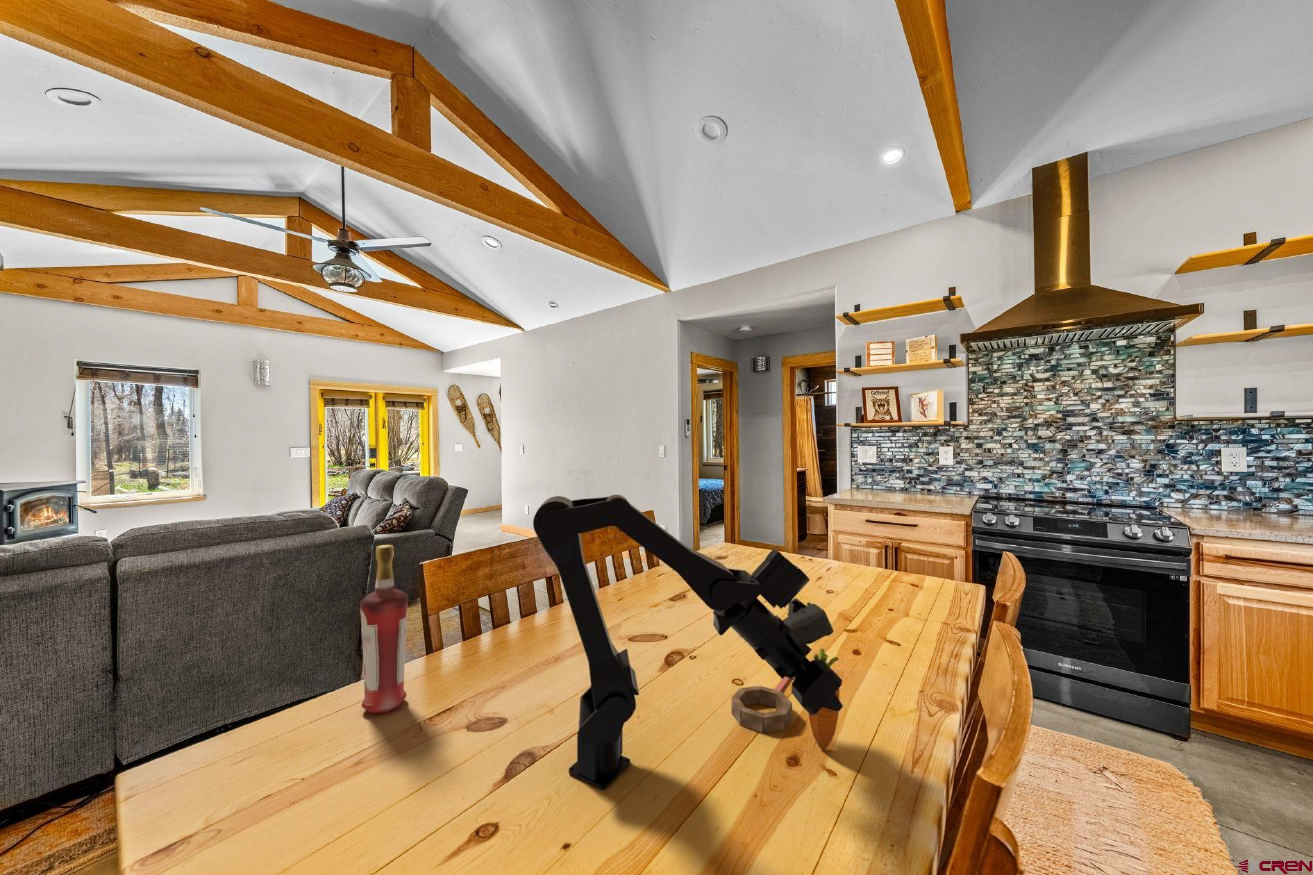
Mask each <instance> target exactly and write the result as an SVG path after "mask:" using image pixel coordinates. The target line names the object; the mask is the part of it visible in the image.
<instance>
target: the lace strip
mask: <svg viewBox="0 0 1313 875" xmlns="http://www.w3.org/2000/svg"><path fill="white" fill-rule="evenodd" d="M790 680H791V679H790V678H788V677H784V678H783V679H782V678H781V680H780V682H779V683H778V684H777V686H776V687H775V688H774V690H778V691H780V692H783V689H784V688H785V687H786V685H787V684H788V682H789V681H790Z"/></svg>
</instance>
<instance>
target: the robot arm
mask: <svg viewBox="0 0 1313 875" xmlns="http://www.w3.org/2000/svg"><path fill="white" fill-rule="evenodd" d="M532 525H533V531H534V532H535V534H536V536H537V538H538V540H539V542H540V544H541V546H542V547H543V549H544V551H545V553H546V554H547V556H548V557H549V558H550V560H551V561H552V563H554V565H555V567H556V568H557V571H558V574H559V576H560V579H561V580H560V581H561V582H562V586H563V588H564V592H565V594H566V598H567V600H568V604H569V607H570V610H571V612H572V616H573V619H574V622H575V625H576V628H577V631H578V634H579V638H580V640H581V641H580V642H581V643H582V647H583V650H584V652H585V656H586V659H587V661H588V670H589V678H590V679H589V680H590V686H589V687H588V688H587V689H586V691H584V693H583V694H581V696H579V697H580V698H579V712H578V713H579V715H578V716H579V718H578V731H577V732H576V733H577V734H576V736H577V737H576V740H577V741H576V742H577V743H576V745H577V746H576V748H577V749H576V751H577V752H576V753H577V754H576V762H575V763H573V764H572V765H570V766H569V768H568V774H569V775H571V776H573V777H576V778H577V779H579V780H581V781H583V782H586V783H588V784H590V785H592V786H595V787H596V788H599V789H601V790H605V789H607V788H608V787H609V786H611V784H612V783H613V782H614V781H615V780H616V779H617V778H618V777H619V776H620V775H621V774H622V773H623V772H624V771H625V770H626V769H627V768H628V767H629V766H630V765H631V759H630V758H628V757H626V756H624V755H623V727H624V725H625V723H626V722H628V721H629V720H630V719H631V717H632V716H633V714H634V713H635V711H636V709H637V702H636V696H639V695H640V693H639V685H638V681H637V675H636V671H635V670H634V669H633V667H632V666H631V663H630V658H629V653H628V652H629V651H628V649H627V648H624V650H621V651H620V652H619V651H618V650H617V648H616V647H615V645H614V644H613V642H612V638H611V636H610V633H609V630H608V627H607V624H606V621H605V617H604V613H603V611H602V608H601V605H600V602H599V600H598V596H597V594H596V589H595V586H594V584H593V581H592V578H591V576H590V572H589V568H588V565H587V563H586V559H585V557H584V553H583V544H582V534H585V533H589V532H592V531H593V532H594V531H596V530H599V529H604V528H609V527H615V528H617V529H618V530H620V531H621V532H622V533H624V534H625V535H626V536H628V537H629V538H630V539H632V540H633V541H635V543H638V544H639V545H640V546H641V547H643V549H645V550H647V551H648V552H649V553H650V554H652V556H654V557H656V558H657V559H658V560H660V561H661V562H662V563H664V564H665V565H666V566H668V568H670V569H671V570H673V571H675V572H676V573H677V574H678V575H679V576H680V577H681V578H682V580H683V581H684V582H685V583H686V584H687V585H688V587H690V589H691V590H692V591H693V592H694V593H695V594H696V595H697V596H698V598H699V599H700V600H702V602H703V603H704V604H705V605H706V606H707V607H708V608H709V609H711V610H713V612H712V614H713V623H712V626H713V627H714V629H715V631H716V632H717V633H718V635H719V636H723V635H724V634H726V632H727V631H728V630H729V629H730V628H732V629H733V631H734V632H736V633H737V635H739V637H741V638H742V640H744V641H745V643H747V644H748V645H749V646H750V647H751V648H752V650H753V651H754V652H755V653H756V655H758V657H759V658H760V659H761V661H765V662H766V663H767V664H768V665H769V666H770V667H771V668H772V670H774V672H775V673H776V674H777V675H778V676H779V677H780V678H781V680H782V679H783V678H784V677H788V678H790V680H792V681H793V682H791V694H792V695H793V697H794V698H795V699H796V700H797V702H798V703H799V705H800V706H801V707H802V708H803V709H804V710H806V712H807V713H808V715H809V714H810V715H815V714H817V712H818V711H819V710H820V709H821V708H822V707H824V708H827V709H831V710H834V711H839V712H840V711H841V710H842V709H843V707H844V706H843V703H842V702H841V700H840V698H839V699H838V697H837V695H836V694H835V692H836V691H837V690H838V689H840V687H842V684H843V679H842V678H841V677H840V676H839V675H838V674H837V673H836V672H835V671H834V670H833V669H832V668H831V666H830V667H829V666H828V665H827V664H826V663H825V662H824V661H822V660H820V659H819V660H814V659H812V660H811V661H810V660H809V658H808V657H807V656H808V655H809V654H810V652H811V651H812V650H813V649H812V648H811V647H810V646H809V645H810V644H811V645H812V644H813V643H816V642H817V641H819V640H821V639H822V638H824V637H826V636H827V637H829V636H831V635H832V634H833V633H834V628H833V625H832V623H831V622H830V619H829V618H828V615H827V612H826V611H825V610H824V609H823V608H822V607H820V606H819V605H817V604H816V603H811V602H810V601H809V602H806V604H805V603H804V602H802V601H801V600H800V599H798V598H797V597H796V596H797V595H798V594H799V593H800V592H801V591H802V590H803V588H805V586H806V585H807V584H808V583H809V582H810V581H811V580H810V578H809V577H808V575H807V574H806V573H805V572H804V571H803V570H802V569H801V568H800V567H799V566H797V565H795V564H794V563H793V562H792V561H790V560H789V559H787V557H785V556H784V555H783V554H782V553H781V552H780V551H779V550H777V549H775V548H772V550H771V551H769V553H768V554H767V556H766V557H765V559H764V560H763V561H762V562H761V563H760V564H759V565H758V566H757V568H755V569H754V571H753V572H752V573H751V574H750V573H749V572H748V571H747V570H745V569H736V568H735V569H734V568H727V566H725V564H724V563H721V562H720V561H718V560H716V559H714V558H712V557H711V556H708V555H705V554H703V553H702V552H699V551H696V550H694V549H693V548H690V547H688V546H687V545H686V544H684V543H682V542H681V540H679V539H677V538H676V537H674V536H673V535H672V534H671V533H669V532H668V531H667V530H666V529H665V528H663V527H661V526H660V525H659V524H658V523H656V522H655V521H654V520H652V519H651V518H650V517H648V516H647V515H646V514H645V513H643V512H641V511H640V510H639V509H638V508H636V506H634V505H632V503H630V501H628V499H627V498H626V497H625V496H623V495H621V494H611V495H610V496H604V497H591V498H579V499H574V500H573V499H569V498H567V496H566V497H565V496H561V495H557V496H551V497H549V498H548V499H546V500H544V502H542V504H540V506H539V508H538V509H537V510H536V513H535V514H534V517H533V520H532ZM759 596H761V597H762V598H763V599H764V600H765V601H766V602H767V603H768V604H769V605H770V606H771V607H772V608H773V609H775V608H777V607H778V608H779V609H780V610H782V609H783V608H786V607H787V606H788V613H786V614H787V617H785V618H784V619H782V618H781V617H780V616H778V615H777V614H776V615H775V614H774V613H773V612H772V611H771V610H770V609H769V608H768V607H767V606H766V605H765V604H764V603H763V602H761V600H760V599H759ZM795 597H796V598H795Z"/></svg>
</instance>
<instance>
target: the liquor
mask: <svg viewBox="0 0 1313 875" xmlns="http://www.w3.org/2000/svg"><path fill="white" fill-rule="evenodd" d="M375 559H376V564H377V566H376V567H377V568H376V576H375V586H374V591H373V592H371V593H369V594H367V595H366V596H365V597H364V598H363V599H362V600H361V601H360V602H359V604H360V605H359V606H360V607H359V608H360V626H361V628H360V630H361V632H360V633H361V644H362V655H363V657H362V658H363V681H364V682H363V686H364V698H363V700H362V702H361V707H362V709H364V710H366V711H367V712H369V713H371V714H373V715H383V714H387V713H391V712H392V711H394V710H396V709H397V708H398V707H399V706H400V705H401V704H402V703H403V701H405V699H406V698H407V696H408V694H407V692H406V691H405V660H406V641H407V640H406V639H407V627H408V626H407V625H408V607H409V606H408V604H409V595H408V594H407V593H406V592H404V591H403V590H402V589H401V590H400V589H397V588H395V582H394V572H393V561H394V560H393V559H394V545H393V544H385V545H384V544H382V545H377V546H376V547H375Z"/></svg>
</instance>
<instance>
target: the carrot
mask: <svg viewBox="0 0 1313 875" xmlns="http://www.w3.org/2000/svg"><path fill="white" fill-rule="evenodd" d="M818 652H819V654H818V653H815V654H814V655H813V660H822V661H824V662H825V663H826V664H827V665H828V666H829V667H830V668H831V666H832V665H833V664H834V663H835V662H837V661H839V660H840V659H839V657H838V656H835V657H832V658H830V660H829V661H827V660H828V658H829V656H828V654H826V652H825V648H820V649H818ZM840 690H841V689H840V688H839V689H838V690H837V691H836V692H835V694H836V695H837V697H838V699H839V700H840ZM839 712H840V711H834V710H831V709H827V708H824V707H822V708H821V709H820V710H819V711H818V712H817V714H815V715H810V714H809V713H808V719H809V723H810V729H811V732H812V735H813V737H814V738H813V739H815V742H816V743H817V746H818V748H819V749H820V750H821V751H825V750H827V749H828V747H829V746H830V744H831V743H832V740H833V739H834V736H835V733H836V729H837V725H838V719H839Z"/></svg>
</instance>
